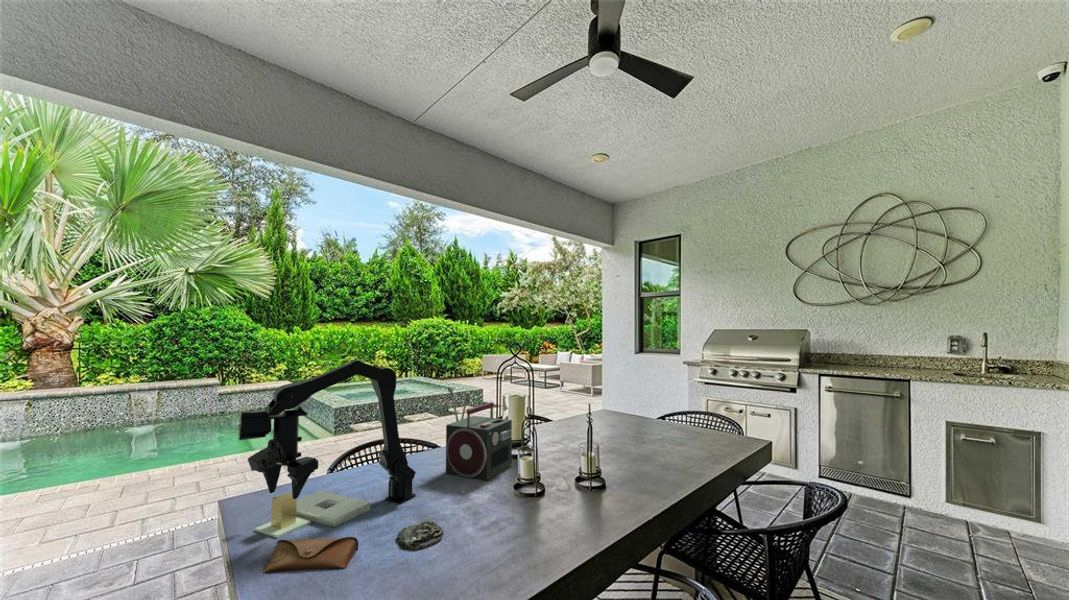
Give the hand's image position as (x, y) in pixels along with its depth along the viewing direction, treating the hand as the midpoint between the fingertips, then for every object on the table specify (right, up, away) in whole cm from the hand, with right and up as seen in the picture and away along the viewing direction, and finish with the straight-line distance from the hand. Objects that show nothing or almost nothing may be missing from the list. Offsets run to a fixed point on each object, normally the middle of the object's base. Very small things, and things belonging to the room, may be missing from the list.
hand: (283, 495), depth 112 cm
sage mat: (0, -8, 0) cm, 8 cm away
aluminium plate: (+7, -8, +9) cm, 14 cm away
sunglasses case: (+16, -8, -17) cm, 24 cm away
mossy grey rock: (+37, -8, -6) cm, 39 cm away
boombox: (+45, -11, +44) cm, 64 cm away
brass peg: (0, -7, 0) cm, 7 cm away
